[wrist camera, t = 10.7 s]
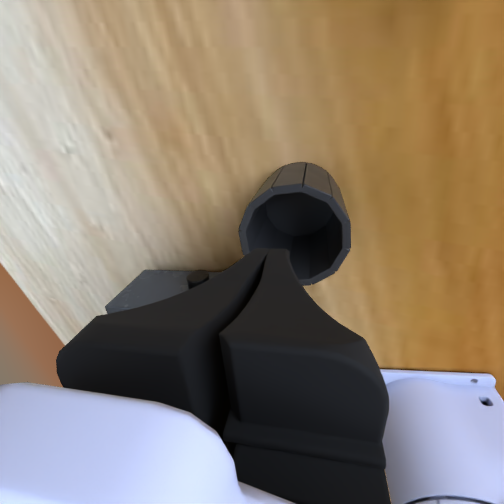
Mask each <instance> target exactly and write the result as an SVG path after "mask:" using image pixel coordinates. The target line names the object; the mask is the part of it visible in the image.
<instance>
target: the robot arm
mask: <svg viewBox="0 0 504 504" xmlns="http://www.w3.org/2000/svg"><path fill="white" fill-rule="evenodd" d="M56 363H57V364H56V365H57V374H58V376H59V379H60V382H61V384H62V385H63V387H64V388H63V387H56V386H49V385H43V384H36V383H29V382H23V383H12V384H2V385H0V504H504V401H503V400H502V398H501V397H500V395H499V394H498V392H497V391H496V389H495V388H494V386H495V383H496V380H495V378H494V377H493V375H491V374H482V373H459V372H435V371H412V370H389V369H379V366H378V364H377V362H376V360H375V358H374V356H373V354H372V352H371V350H370V348H369V346H368V344H367V342H366V340H365V339H364V338H363V337H361V336H359V335H358V334H356V333H354V332H353V331H351V330H349V329H348V328H346V327H344V326H343V325H341V324H340V323H338V322H337V321H336V320H334V319H333V318H332V317H330V316H329V315H328V314H327V313H326V312H324V311H323V310H322V309H321V308H320V307H319V306H318V305H317V304H316V303H315V302H314V301H313V299H312V298H311V297H310V296H309V295H308V293H307V292H306V291H305V289H304V288H303V286H302V285H301V283H300V282H299V280H298V278H297V276H296V274H295V272H294V270H293V268H292V265H291V263H290V259H289V251H288V250H287V249H270V248H256V249H254V250H253V251H251V252H250V253H249V254H247V255H246V256H244V257H243V258H242V259H240V260H239V261H238V262H236V263H235V264H233V265H232V266H231V267H229V268H228V269H226V270H224V271H223V272H221V273H220V274H218V275H217V276H215V277H213V278H212V279H210V280H208V281H206V282H204V283H202V284H200V285H198V286H196V287H194V288H192V289H190V290H187V291H185V292H182V293H180V294H177V295H175V296H172V297H170V298H167V299H164V300H161V301H158V302H155V303H151V304H148V305H144V306H141V307H137V308H133V309H129V310H124V311H119V312H115V313H110V314H105V315H100V316H96V317H95V318H94V319H93V320H92V321H91V322H90V323H89V324H88V325H87V326H86V327H85V328H83V329H82V330H81V331H80V332H79V333H78V334H77V335H76V336H75V337H74V338H73V339H72V340H71V341H70V342H69V343H68V344H67V345H66V346H65V347H63V348H62V350H60V351H59V354H58V356H57V359H56ZM384 469H385V471H384ZM385 473H386V476H385ZM386 478H387V481H386ZM387 483H388V486H387ZM388 488H389V491H388ZM389 493H390V496H389ZM390 499H391V501H390Z"/></svg>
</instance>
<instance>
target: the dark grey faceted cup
mask: <svg viewBox="0 0 504 504" xmlns="http://www.w3.org/2000/svg"><path fill="white" fill-rule="evenodd" d="M239 237H240V242H241V247H242V252H243V255H244V256H246V255H247V254H249V253H250V252H251V251H253V250H254V249H256V248H270V249H287V250H288V251H289V259H290V263H291V265H292V268H293V270H294V272H295V274H296V276H297V278H298V280H299V282H300V283H301V285H302V286H304V285H311V283H312V284H315V283H317V282H319V281H321V280H323V279H325V278H326V277H328V276H330V275H332V274H334V273H335V271H337V270H338V269H339V267H340V265H341V264H342V262H343V261H344V259H345V258H346V256H347V254H348V253H349V251H350V248H351V225H350V220H349V217H348V213H347V210H346V207H345V204H344V201H343V198H342V195H341V192H340V189H339V187H338V186H337V184H336V182H335V181H334V179H333V178H332V176H331V175H330V174H329V173H328V172H327V171H326V170H324V169H323V168H321V167H319V166H317V165H314V164H311V163H306V162H297V163H291V164H288V165H285V166H282V167H281V168H280V169H278V170H277V171H275V172H274V173H273V174H272V175H271V176H270V177H268V178H267V180H266V181H265V182H264V184H263V185H262V187H261V188H260V189H259V191H258V192H257V193H256V195H255V196H254V198H253V199H252V200H251V202H250V203H249V204H248V206H247V208H246V210H245V213H244V216H243V218H242V221H241V224H240V226H239Z"/></svg>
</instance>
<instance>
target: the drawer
mask: <svg viewBox="0 0 504 504" xmlns="http://www.w3.org/2000/svg"><path fill="white" fill-rule="evenodd" d="M220 273H221V272H207V271H204V270H198V271H167V270H144V271H143V272H142V273H141V274H140V275H139V276H138V277H136V278H135V279H134V280H133V281H132V282H131V283H130V284H129V285H128V286H127V287H126V288H125V289H123V290H122V291H121V292H120V293H119V294H118V295H117V296H116V297H115V298H114V299H113V300H112V301H110V302H109V303H108V304H107V305H106V306H105V308H106V311H107V314H110V313H115V312H119V311H124V310H129V309H133V308H137V307H141V306H144V305H148V304H151V303H155V302H158V301H161V300H164V299H167V298H170V297H172V296H175V295H177V294H180V293H182V292H185V291H187V290H190V289H192V288H194V287H196V286H198V285H200V284H202V283H204V282H206V281H208V280H210V279H212V278H213V277H215V276H217V275H218V274H220Z"/></svg>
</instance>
